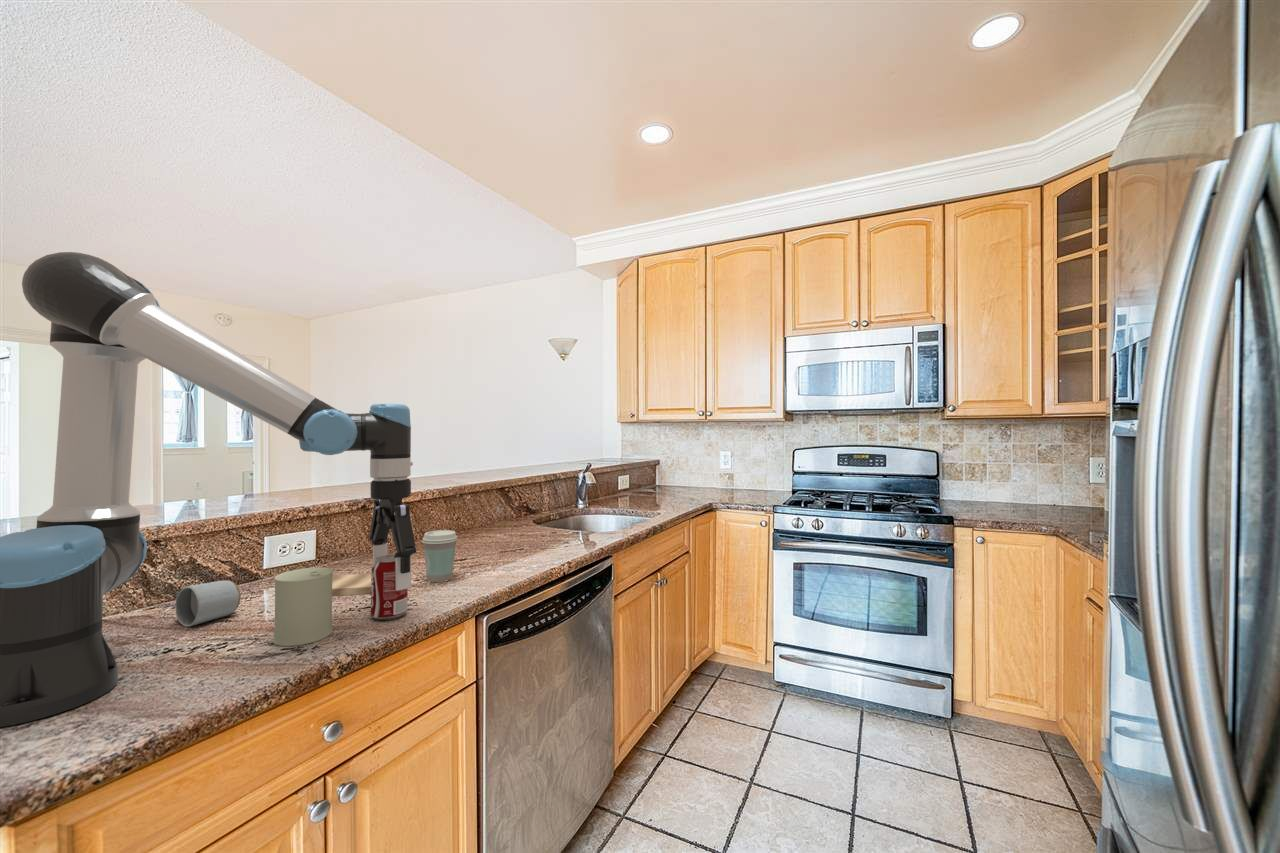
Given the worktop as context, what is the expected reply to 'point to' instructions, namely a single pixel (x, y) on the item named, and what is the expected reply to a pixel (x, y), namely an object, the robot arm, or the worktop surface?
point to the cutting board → (351, 584)
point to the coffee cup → (439, 554)
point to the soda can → (386, 590)
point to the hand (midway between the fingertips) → (391, 581)
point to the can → (303, 606)
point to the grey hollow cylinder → (206, 602)
